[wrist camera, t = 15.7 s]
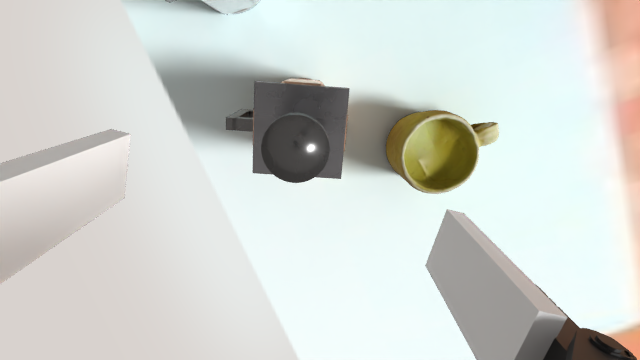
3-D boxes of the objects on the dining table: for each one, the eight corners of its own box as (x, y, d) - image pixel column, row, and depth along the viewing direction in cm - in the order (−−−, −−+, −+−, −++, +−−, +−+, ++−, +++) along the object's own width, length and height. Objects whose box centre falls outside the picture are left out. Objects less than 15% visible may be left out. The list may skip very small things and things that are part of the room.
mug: (383, 199, 48) (415, 200, 38) (369, 123, 48) (397, 104, 39) (467, 184, 50) (517, 180, 40) (453, 111, 50) (500, 90, 41)
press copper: (245, 146, 48) (221, 173, 35) (246, 73, 45) (220, 75, 33) (335, 152, 48) (343, 181, 36) (342, 81, 46) (353, 85, 33)
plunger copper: (283, 87, 43) (263, 99, 25) (332, 99, 44) (345, 119, 26) (273, 136, 45) (247, 178, 27) (320, 147, 45) (324, 196, 28)
